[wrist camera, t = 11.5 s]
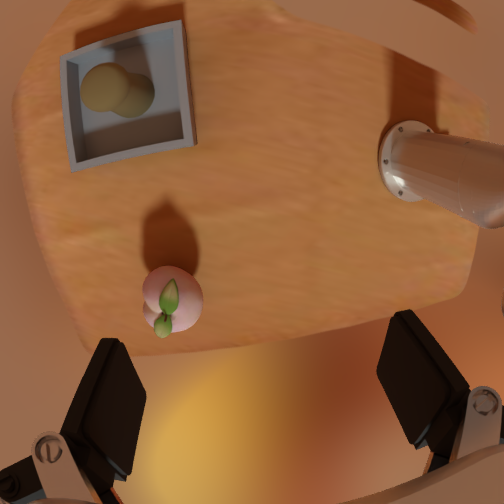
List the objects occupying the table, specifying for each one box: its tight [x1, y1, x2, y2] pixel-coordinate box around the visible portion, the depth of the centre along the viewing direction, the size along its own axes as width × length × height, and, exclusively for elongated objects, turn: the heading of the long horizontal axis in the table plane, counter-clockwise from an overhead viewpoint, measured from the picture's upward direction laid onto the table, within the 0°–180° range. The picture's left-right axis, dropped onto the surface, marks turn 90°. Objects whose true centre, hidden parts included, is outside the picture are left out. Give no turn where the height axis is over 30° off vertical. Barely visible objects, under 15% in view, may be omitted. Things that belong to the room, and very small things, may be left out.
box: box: [60, 20, 197, 173], centre depth 29 cm, size 16×16×4 cm
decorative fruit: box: [143, 266, 203, 338], centre depth 38 cm, size 9×8×10 cm
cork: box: [80, 62, 155, 118], centre depth 25 cm, size 6×6×11 cm
